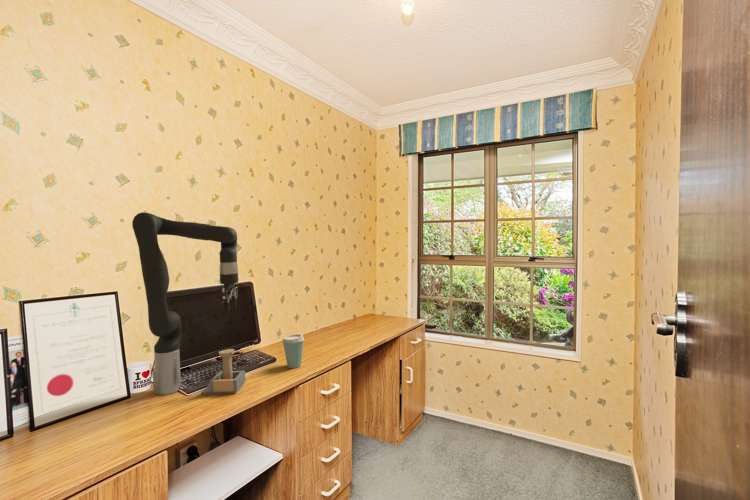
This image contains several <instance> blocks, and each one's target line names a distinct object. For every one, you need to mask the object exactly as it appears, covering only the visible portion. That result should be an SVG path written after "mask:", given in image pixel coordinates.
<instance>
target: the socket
mask: <svg viewBox="0 0 750 500" xmlns="http://www.w3.org/2000/svg"><path fill="white" fill-rule="evenodd" d="M232 371H233V378H232V379H223V370H222V371H219V372H218V373H216V375H215V376H213V377H212V378H211V379H210V380H209V381H208V382H209V384H208V385H206V387H205V388H204V389H203V390H202V391H201V395H218V394H221V395H222V394H237V393H238V391H239V390H240V389H241V388H242V386H244V384H245V382H246V370H232Z"/></svg>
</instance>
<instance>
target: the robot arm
mask: <svg viewBox="0 0 750 500" xmlns="http://www.w3.org/2000/svg"><path fill="white" fill-rule="evenodd" d="M132 230H133V233H134V236H135V239H136V243H137V246H138V253H139V260H140V267H141V273H142V279H143V284H144V289H145V290H144V291H145V297H146V303H147V315H148V318H147V319H148V320H147V321H148V328H149V331H150V332H151V333H152V334H153V336H155V337H158V339H157V341H156V343H155V344H154V347H153V350H154V351H153V354H154V369H153V370H152V388H153V389H152V390H153V394H154V395H155V394H156V395H162V396H164V395H165V396H166V395H170V394H173V393H176V392H179V391H178V388H179V387H180V385H181V386H182V384H181V358H180V357H181V356H180V354H181V353H180V343H181V340H182V320H181V317H180V315H179V314H178V313H177V312H176V311H172V310H168V309H167V307H168V306H167V294H168V290H169V286H170V274H169V269H168V265H167V261H166V258H165V256H164V254H163V253H162V251H161V249H160V245H159V239H158V236H159V235H160V236H164V235H165V236H176V237H181V238H186V239H193V240H201V241H211V242H215V243H220V251H219V283H220V285H223V287H220V288H219V289H220V291H219V292H220V302H221V303H223V305H222V306H223V311H224V312H229V311H230V308H232V309H234V308H237V298H238V297H239V284H238V283H239V265H238V254H237V249H238V233H237V231H236V229H234V228H232V227H229V226H222V225H211V224H207V223H200V222H191V221H177V220H171V219H166V218H163V217H161V216H157V215H156V214H153V213H150V212H139V213H137V214H135V216H134V217H133V219H132Z"/></svg>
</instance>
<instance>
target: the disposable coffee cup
mask: <svg viewBox="0 0 750 500" xmlns="http://www.w3.org/2000/svg"><path fill="white" fill-rule="evenodd" d="M304 341H305V337H304V335H303V334H301V333H293V334H290V335H289V334H288V335H287V336H284V337H283V338H282V344H283V349H284V354H285V359H286V360H285V361H286V365H287V367H288V368H290V369H297V368H299V367H301V365H302V360H303V351H304Z"/></svg>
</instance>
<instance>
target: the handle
mask: <svg viewBox="0 0 750 500" xmlns="http://www.w3.org/2000/svg"><path fill="white" fill-rule="evenodd" d="M235 352H236V351H235V349H234V348H227V349H224V350H221V351H219V352H218V355H219V357H221V358H222V371H223V379H232V378H233V371H234V370H233V361H232V356H233V355H234V354H235Z"/></svg>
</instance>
